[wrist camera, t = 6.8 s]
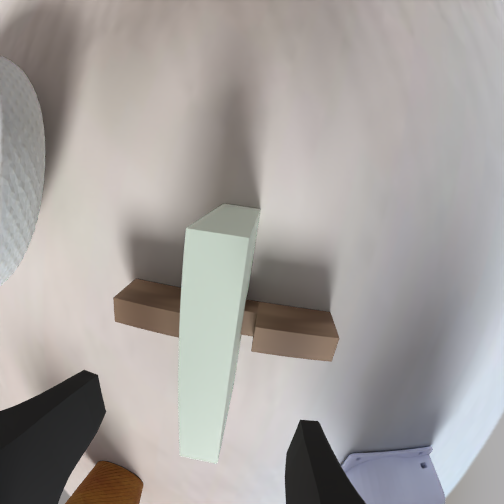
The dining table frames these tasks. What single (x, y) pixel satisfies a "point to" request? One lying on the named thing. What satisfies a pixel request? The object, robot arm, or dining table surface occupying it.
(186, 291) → the sage slot plate
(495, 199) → the dining table surface
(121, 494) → the disposable coffee cup
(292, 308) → the walnut slot board
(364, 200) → the dining table surface
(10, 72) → the cereal bowl
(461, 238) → the dining table surface
